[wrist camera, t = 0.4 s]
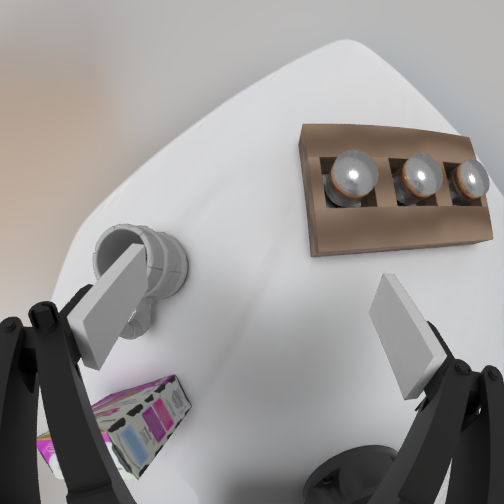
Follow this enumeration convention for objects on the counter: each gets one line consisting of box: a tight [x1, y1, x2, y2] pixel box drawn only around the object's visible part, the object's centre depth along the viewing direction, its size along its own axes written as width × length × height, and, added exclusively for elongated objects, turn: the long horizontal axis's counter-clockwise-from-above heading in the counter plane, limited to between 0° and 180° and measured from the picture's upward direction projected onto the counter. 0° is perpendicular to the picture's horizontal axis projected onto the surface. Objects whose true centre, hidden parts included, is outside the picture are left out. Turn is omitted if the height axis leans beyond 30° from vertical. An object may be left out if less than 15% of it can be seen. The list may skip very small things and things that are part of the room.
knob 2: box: [392, 153, 443, 205], centre depth 27 cm, size 4×4×5 cm
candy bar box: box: [37, 375, 191, 481], centre depth 23 cm, size 11×5×16 cm, turn 114°
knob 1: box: [325, 150, 379, 207], centre depth 27 cm, size 4×4×5 cm
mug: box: [93, 224, 188, 340], centre depth 26 cm, size 8×12×12 cm, turn 170°
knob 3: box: [446, 159, 489, 205], centre depth 26 cm, size 4×4×5 cm
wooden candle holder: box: [299, 124, 493, 257], centre depth 30 cm, size 14×24×5 cm, turn 94°
